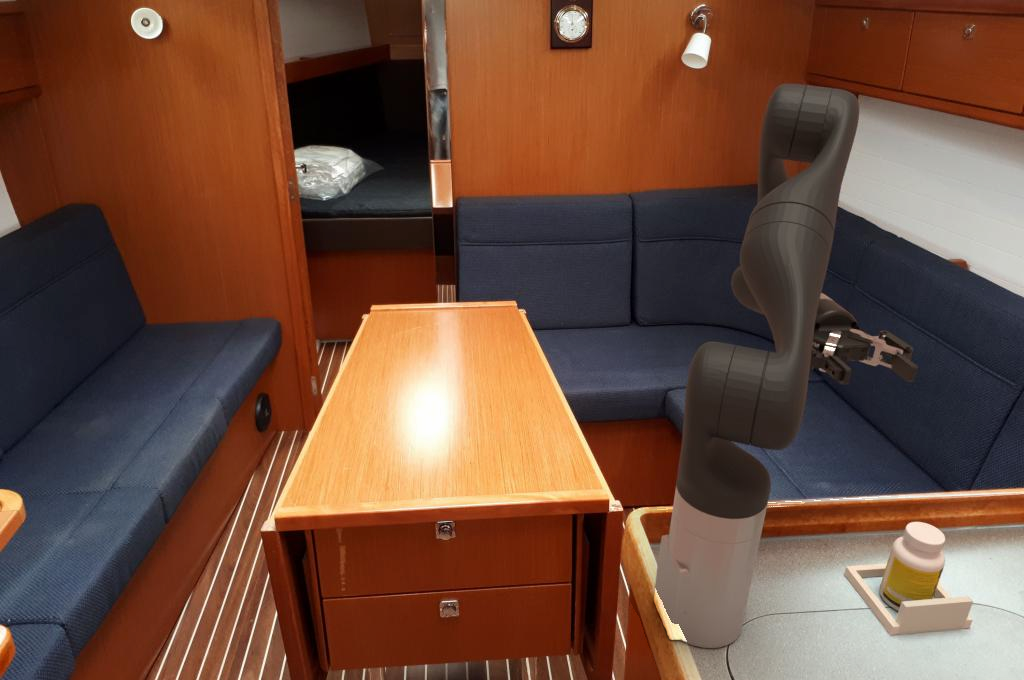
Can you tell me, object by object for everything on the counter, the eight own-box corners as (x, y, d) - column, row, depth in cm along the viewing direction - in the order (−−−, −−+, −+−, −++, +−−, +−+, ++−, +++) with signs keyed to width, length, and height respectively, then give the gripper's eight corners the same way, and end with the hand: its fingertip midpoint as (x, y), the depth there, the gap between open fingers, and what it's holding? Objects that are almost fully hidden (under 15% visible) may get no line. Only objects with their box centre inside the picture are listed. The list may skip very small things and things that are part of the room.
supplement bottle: (935, 620, 84) (959, 552, 80) (884, 612, 85) (905, 544, 81) (921, 586, 89) (943, 521, 85) (873, 579, 90) (892, 514, 85)
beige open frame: (890, 635, 82) (899, 607, 80) (844, 574, 90) (851, 548, 89) (969, 627, 83) (979, 600, 81) (916, 568, 92) (924, 542, 90)
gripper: (772, 299, 102) (832, 351, 87) (869, 296, 104) (943, 346, 89) (763, 347, 105) (819, 405, 91) (857, 344, 107) (927, 400, 92)
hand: (880, 376), depth 90 cm, fingers open, 8 cm apart
